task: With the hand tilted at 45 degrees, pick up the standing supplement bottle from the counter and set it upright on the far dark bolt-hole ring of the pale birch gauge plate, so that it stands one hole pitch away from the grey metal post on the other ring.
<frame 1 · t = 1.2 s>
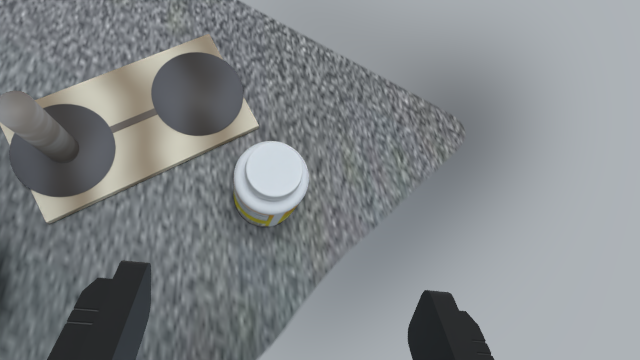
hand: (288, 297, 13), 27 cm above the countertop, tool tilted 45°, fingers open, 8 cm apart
supplement bottle: (264, 197, 41), on the countertop
pitch gauge plate: (135, 123, 40), on the countertop
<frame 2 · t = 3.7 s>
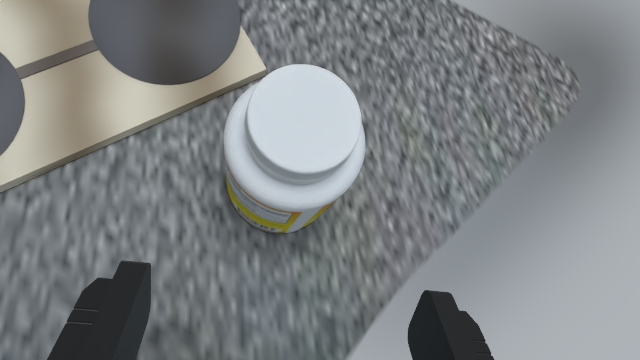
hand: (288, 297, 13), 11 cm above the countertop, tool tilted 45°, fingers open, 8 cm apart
supplement bottle: (277, 185, 25), on the countertop
pitch gauge plate: (63, 66, 25), on the countertop
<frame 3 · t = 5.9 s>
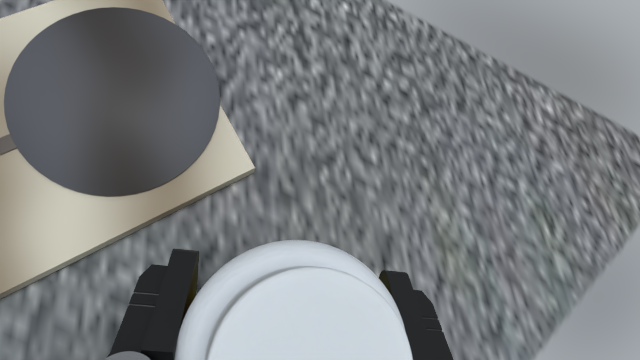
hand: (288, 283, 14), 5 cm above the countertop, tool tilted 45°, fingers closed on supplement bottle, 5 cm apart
supplement bottle: (269, 331, 18), on the countertop, touching gripper
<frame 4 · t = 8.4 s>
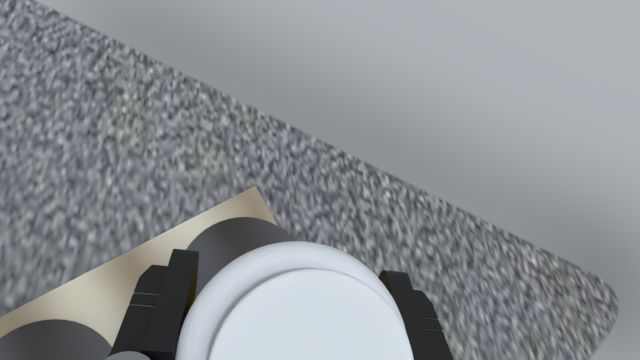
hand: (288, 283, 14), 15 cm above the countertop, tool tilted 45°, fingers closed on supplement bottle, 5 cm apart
supplement bottle: (269, 331, 18), point 10 cm above the countertop, touching gripper
pitch gauge plate: (152, 334, 27), on the countertop
when the fingers open (7 cm above the countertop, at t = 11.3 s): supplement bottle drops 1 cm, resting on pitch gauge plate.
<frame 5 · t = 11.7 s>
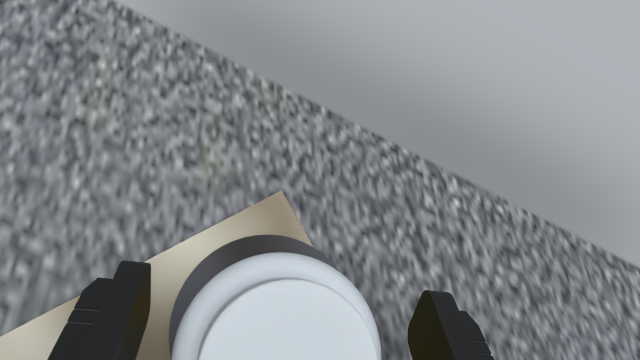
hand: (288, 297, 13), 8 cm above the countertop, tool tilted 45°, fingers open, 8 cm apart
supplement bottle: (262, 332, 20), point 1 cm above the countertop, touching pitch gauge plate
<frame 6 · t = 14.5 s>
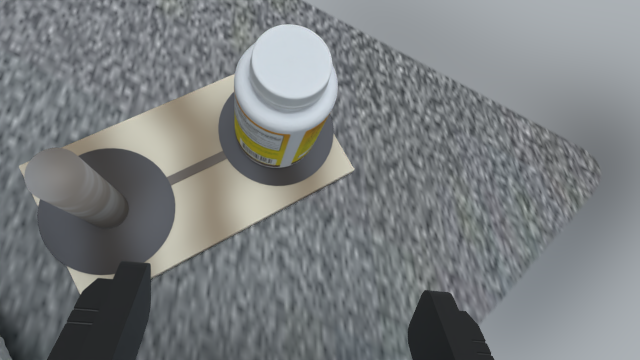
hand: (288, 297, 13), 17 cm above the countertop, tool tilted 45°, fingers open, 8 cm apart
supplement bottle: (274, 132, 32), point 1 cm above the countertop, touching pitch gauge plate
pitch gauge plate: (198, 171, 31), on the countertop
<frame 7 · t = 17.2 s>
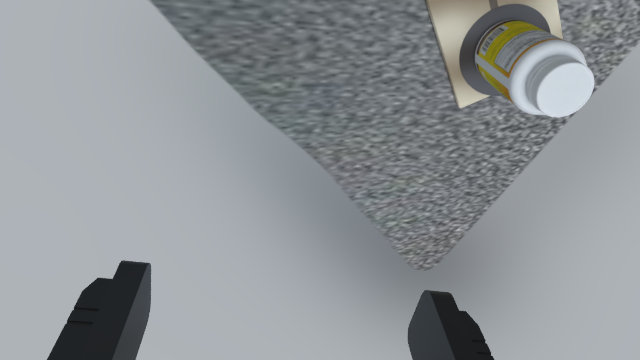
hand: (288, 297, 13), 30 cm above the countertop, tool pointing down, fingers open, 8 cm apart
supplement bottle: (503, 49, 40), point 1 cm above the countertop, touching pitch gauge plate
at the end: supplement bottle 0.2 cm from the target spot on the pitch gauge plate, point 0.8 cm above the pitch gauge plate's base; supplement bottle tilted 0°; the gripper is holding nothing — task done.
